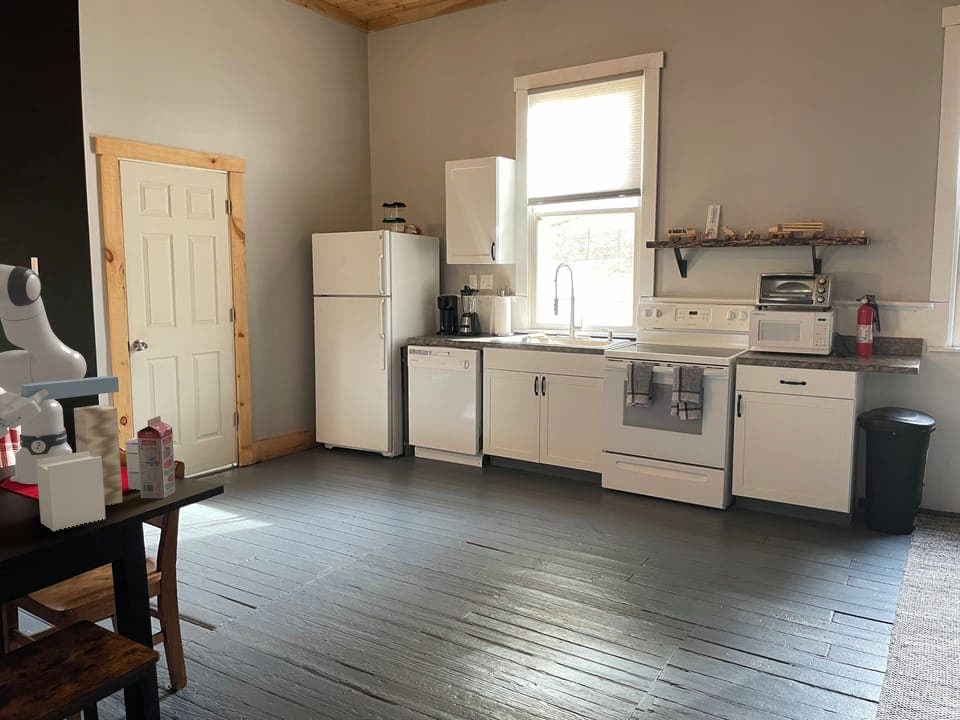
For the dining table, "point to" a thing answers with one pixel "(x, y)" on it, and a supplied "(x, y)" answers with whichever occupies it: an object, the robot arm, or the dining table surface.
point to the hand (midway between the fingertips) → (42, 389)
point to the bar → (73, 387)
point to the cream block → (70, 490)
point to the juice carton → (156, 459)
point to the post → (101, 445)
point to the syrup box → (133, 463)
